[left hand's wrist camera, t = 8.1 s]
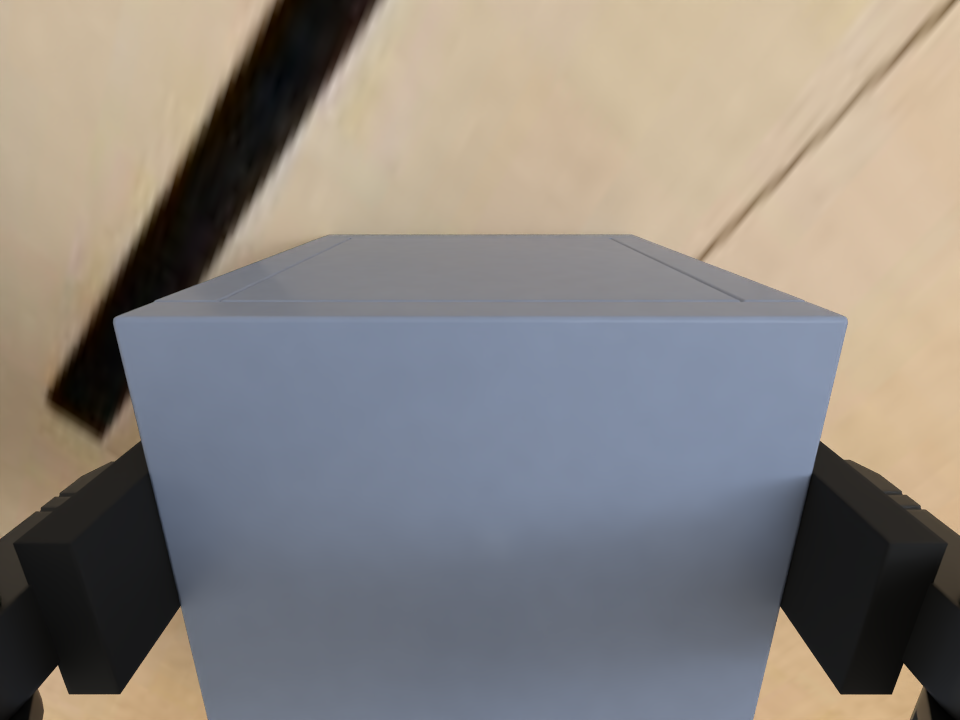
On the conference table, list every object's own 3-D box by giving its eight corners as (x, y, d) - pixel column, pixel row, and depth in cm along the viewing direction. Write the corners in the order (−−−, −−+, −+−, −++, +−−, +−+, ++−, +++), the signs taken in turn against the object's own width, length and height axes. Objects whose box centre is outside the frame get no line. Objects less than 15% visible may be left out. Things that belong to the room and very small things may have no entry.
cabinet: (596, 623, 24) (691, 985, 13) (363, 623, 24) (269, 985, 13) (633, 234, 18) (852, 316, 7) (327, 234, 18) (108, 317, 7)
